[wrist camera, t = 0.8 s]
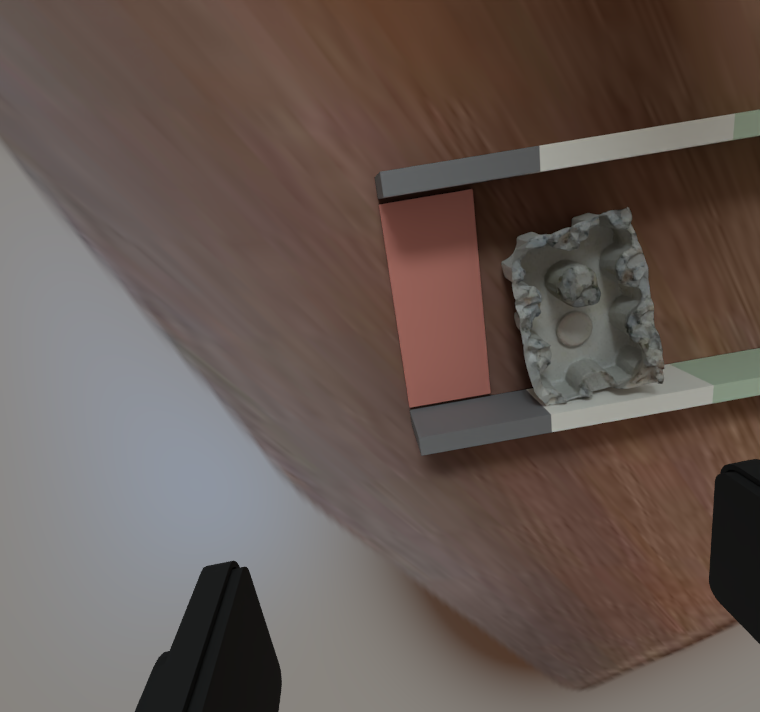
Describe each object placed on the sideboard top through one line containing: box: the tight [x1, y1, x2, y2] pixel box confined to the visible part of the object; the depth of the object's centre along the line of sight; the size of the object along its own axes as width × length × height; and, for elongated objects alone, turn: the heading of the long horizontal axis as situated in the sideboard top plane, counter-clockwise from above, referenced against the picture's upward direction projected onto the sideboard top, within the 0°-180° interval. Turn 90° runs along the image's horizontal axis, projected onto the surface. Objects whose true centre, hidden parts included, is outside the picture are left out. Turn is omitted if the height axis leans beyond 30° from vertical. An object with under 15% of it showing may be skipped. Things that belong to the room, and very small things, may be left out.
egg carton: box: [501, 207, 664, 406], centre depth 27 cm, size 11×8×4 cm
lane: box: [375, 109, 760, 456], centre depth 27 cm, size 16×29×4 cm, turn 99°
